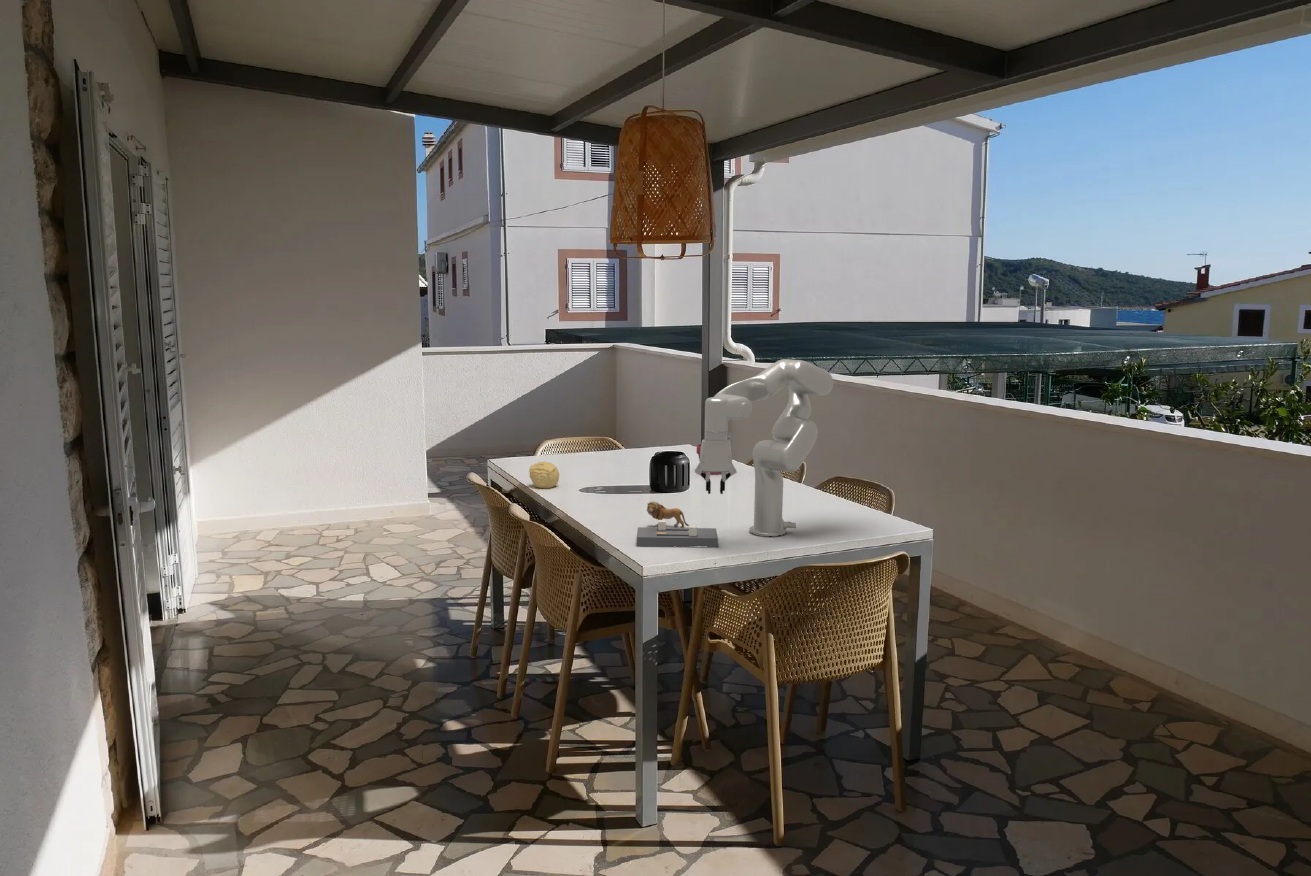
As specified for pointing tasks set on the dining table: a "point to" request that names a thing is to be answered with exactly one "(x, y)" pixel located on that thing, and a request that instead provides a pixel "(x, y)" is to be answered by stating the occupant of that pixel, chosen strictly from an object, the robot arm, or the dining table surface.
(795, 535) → the dining table surface
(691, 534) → the switch
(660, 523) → the switch
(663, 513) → the lion figurine
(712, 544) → the switch board
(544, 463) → the sculpture
